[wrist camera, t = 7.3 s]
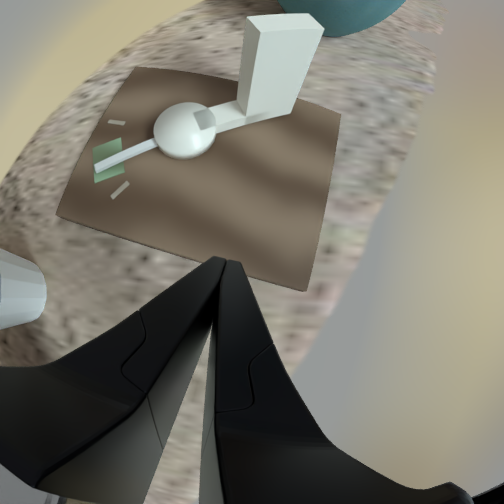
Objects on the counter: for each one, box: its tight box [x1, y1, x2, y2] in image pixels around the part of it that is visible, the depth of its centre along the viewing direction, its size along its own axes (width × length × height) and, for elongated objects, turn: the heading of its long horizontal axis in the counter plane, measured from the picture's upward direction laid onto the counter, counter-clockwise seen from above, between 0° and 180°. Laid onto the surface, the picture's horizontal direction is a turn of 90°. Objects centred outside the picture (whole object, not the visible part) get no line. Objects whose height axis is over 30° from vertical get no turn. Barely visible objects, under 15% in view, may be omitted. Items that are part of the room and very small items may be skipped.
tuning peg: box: [94, 13, 324, 173], centre depth 16 cm, size 5×17×10 cm, turn 113°
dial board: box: [56, 67, 341, 292], centre depth 21 cm, size 17×22×1 cm
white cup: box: [0, 248, 47, 330], centre depth 15 cm, size 7×7×7 cm
